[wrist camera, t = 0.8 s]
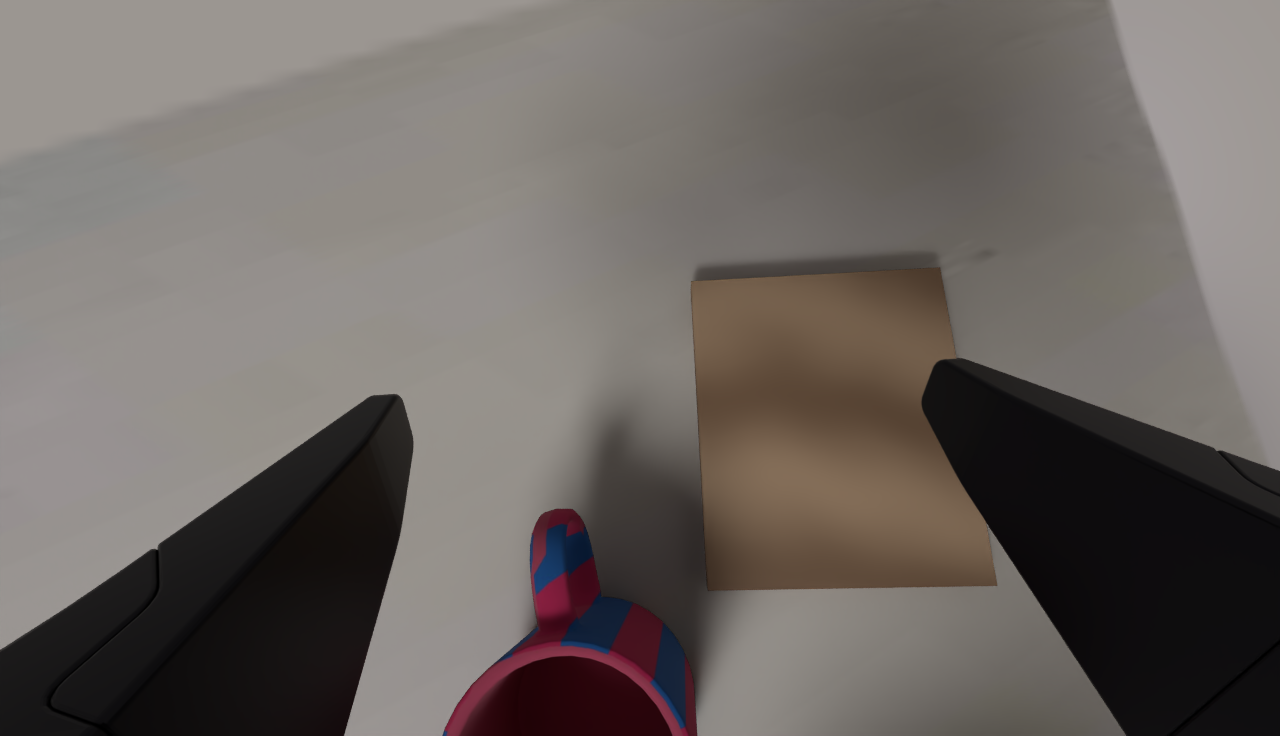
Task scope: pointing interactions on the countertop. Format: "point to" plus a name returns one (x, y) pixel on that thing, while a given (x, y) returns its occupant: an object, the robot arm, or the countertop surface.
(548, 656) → the mug
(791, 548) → the coaster board
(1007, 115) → the countertop surface
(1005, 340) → the countertop surface
